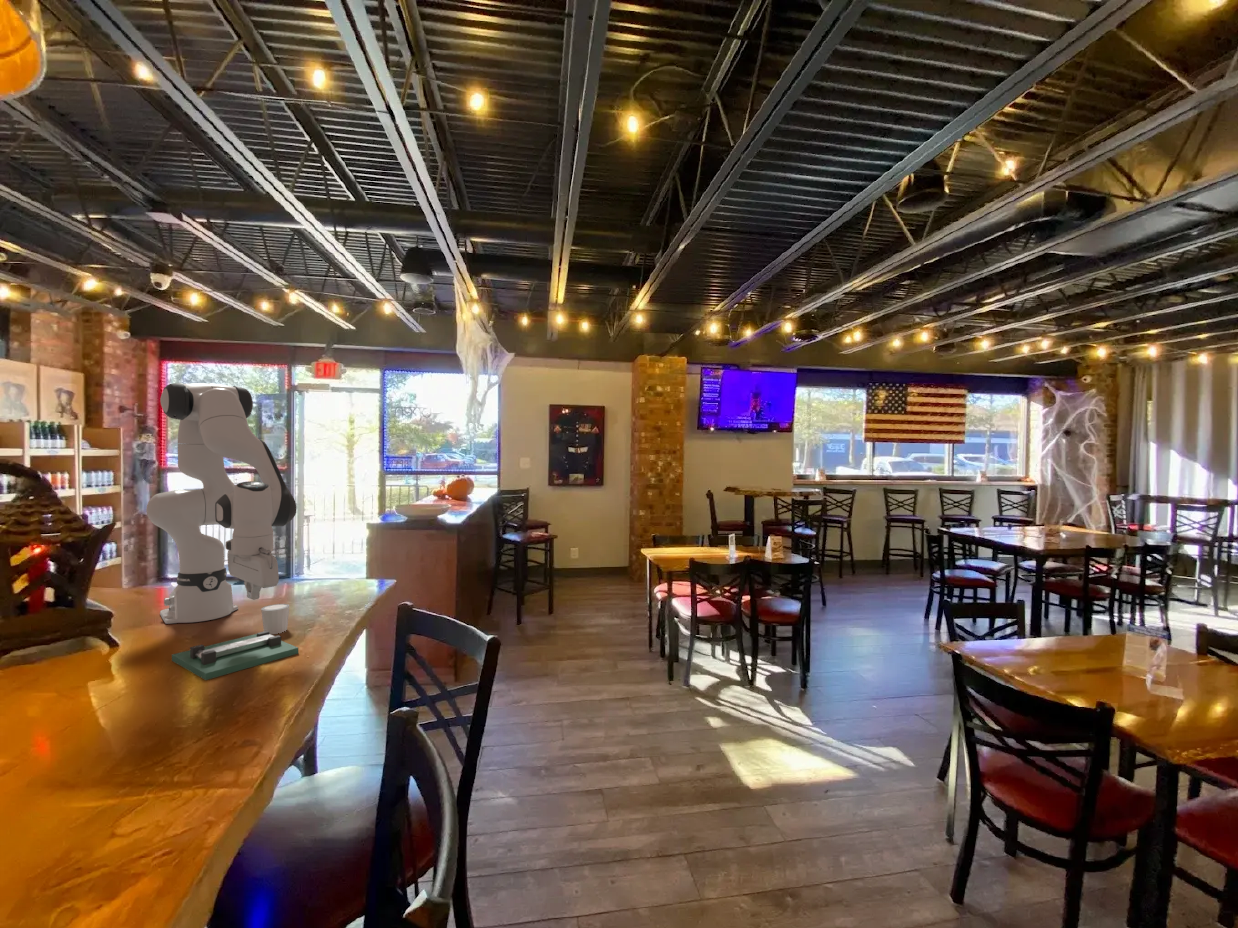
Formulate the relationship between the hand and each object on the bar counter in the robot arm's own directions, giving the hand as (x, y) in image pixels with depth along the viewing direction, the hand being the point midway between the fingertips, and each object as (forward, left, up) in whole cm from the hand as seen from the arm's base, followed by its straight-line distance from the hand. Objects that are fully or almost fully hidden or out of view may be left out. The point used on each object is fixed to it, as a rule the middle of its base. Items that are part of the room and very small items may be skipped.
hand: (253, 598), depth 146 cm
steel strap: (+4, -5, -11) cm, 13 cm away
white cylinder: (-9, +10, -13) cm, 19 cm away
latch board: (+4, -5, -13) cm, 14 cm away
